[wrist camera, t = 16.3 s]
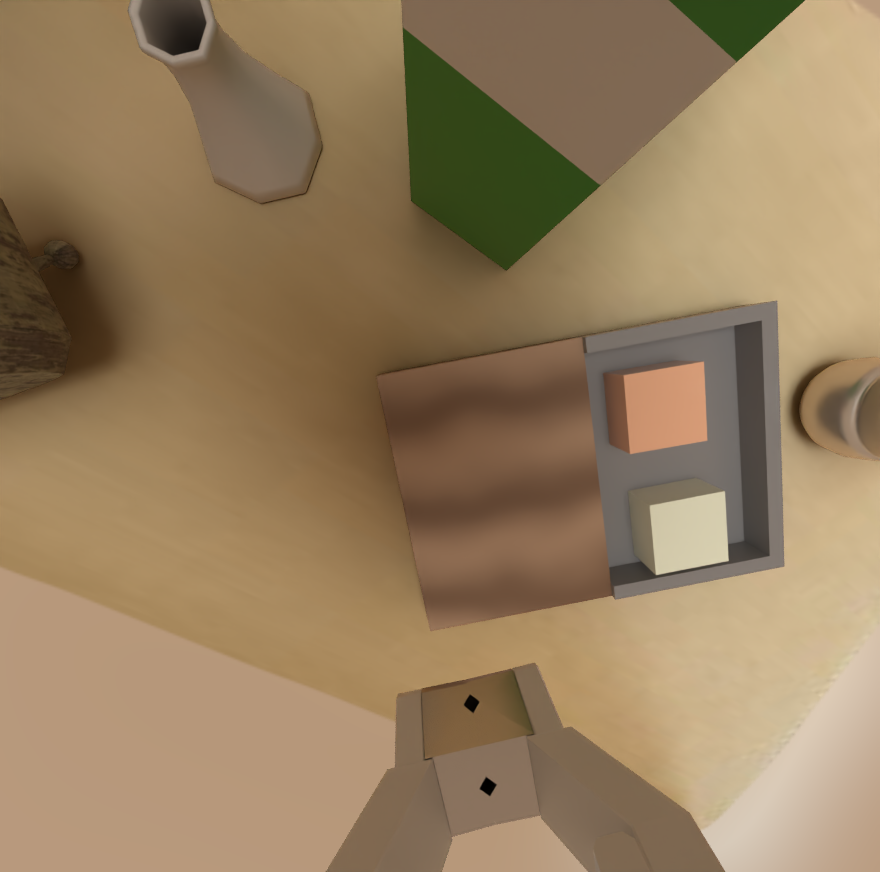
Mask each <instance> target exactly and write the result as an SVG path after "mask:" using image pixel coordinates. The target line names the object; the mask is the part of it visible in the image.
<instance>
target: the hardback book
mask: <svg viewBox="0 0 880 872" xmlns="http://www.w3.org/2000/svg"><path fill="white" fill-rule="evenodd" d="M804 1H805V0H401V2H402V23H403V43H404V64H405V84H406V105H407V125H408V146H409V166H410V187H411V201H412V202H413V203H415V204H416V205H418V206H419V207H420V208H422V209H423V210H424V211H426V212H427V213H428V214H430V215H431V216H433V217H434V218H435V219H437V220H438V221H439V222H441V223H442V224H443V225H445V226H446V227H448V228H449V229H450V230H452V231H453V232H454V233H456V234H457V235H458V236H460V237H461V238H463V239H464V240H465V241H467V242H468V243H469V244H471V245H472V246H473V247H475V248H476V249H477V250H479V251H480V252H482V253H483V254H484V255H486V256H487V257H488V258H490V259H491V260H492V261H494V262H495V263H497V264H498V265H499V266H501V267H502V268H503V269H505V270H506V271H507V270H508V269H509V268H510V267H511V266H512V265H513V264H514V263H515V262H517V261H518V260H519V259H520V258H521V257H522V256H523V255H524V254H525V253H526V252H528V251H529V250H530V249H531V248H532V247H533V246H534V245H535V244H536V243H538V242H539V241H540V240H541V239H542V238H543V237H544V236H545V235H546V234H547V233H549V232H550V231H551V230H552V229H553V228H554V227H555V226H556V225H557V224H558V223H560V222H561V221H562V220H563V219H564V218H565V217H566V216H567V215H568V214H570V213H571V212H572V211H573V210H574V209H575V208H576V207H577V206H578V205H579V204H581V203H582V202H583V201H584V200H585V199H586V198H587V197H588V196H589V195H591V194H592V193H593V192H594V191H595V190H596V189H597V188H598V187H599V186H600V185H602V184H603V183H604V182H605V181H606V180H607V179H608V178H609V177H610V176H612V175H613V174H614V173H615V172H616V171H617V170H618V169H619V168H620V167H621V166H623V165H624V164H625V163H626V162H627V161H628V160H629V159H630V158H631V157H632V156H634V155H635V154H636V153H637V152H638V151H639V150H640V149H641V148H642V147H644V146H645V145H646V144H647V143H648V142H649V141H650V140H651V139H652V138H653V137H655V136H656V135H657V134H658V133H659V132H660V131H661V130H662V129H663V128H665V127H666V126H667V125H668V124H669V123H670V122H671V121H672V120H673V119H674V118H676V117H677V116H678V115H679V114H680V113H681V112H682V111H683V110H684V109H686V108H687V107H688V106H689V105H690V104H691V103H692V102H693V101H694V100H695V99H697V98H698V97H699V96H700V95H701V94H702V93H703V92H704V91H705V90H706V89H708V88H709V87H710V86H711V85H712V84H713V83H714V82H715V81H716V80H718V79H719V78H720V77H721V76H722V75H723V74H724V73H725V72H726V71H727V70H729V69H730V68H731V67H732V66H733V65H734V64H735V63H736V62H737V61H739V60H740V59H741V58H742V57H743V56H744V55H745V54H746V53H747V52H748V51H750V50H751V49H752V48H753V47H754V46H755V45H756V44H757V43H758V42H760V41H761V40H762V39H763V38H764V37H765V36H766V35H767V34H768V33H769V32H771V31H772V30H773V29H774V28H775V27H776V26H777V25H778V24H779V23H781V22H782V21H783V20H784V19H785V18H786V17H787V16H788V15H789V14H790V13H792V12H793V11H794V10H795V9H796V8H797V7H798V6H799V5H800V4H801V3H803V2H804Z"/></svg>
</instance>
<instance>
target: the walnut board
mask: <svg viewBox="0 0 880 872" xmlns="http://www.w3.org/2000/svg"><path fill="white" fill-rule="evenodd" d="M376 378H377V383H378V387H379V392H380V397H381V402H382V406H383V411H384V416H385V420H386V425H387V430H388V434H389V439H390V444H391V449H392V453H393V458H394V463H395V467H396V472H397V477H398V481H399V486H400V491H401V496H402V500H403V505H404V510H405V514H406V519H407V524H408V528H409V533H410V538H411V543H412V547H413V552H414V557H415V561H416V566H417V571H418V576H419V580H420V585H421V590H422V594H423V599H424V604H425V608H426V613H427V618H428V623H429V627H430V631H434V630H439V629H444V628H449V627H454V626H459V625H465V624H470V623H475V622H480V621H485V620H490V619H495V618H500V617H505V616H511V615H516V614H521V613H526V612H531V611H536V610H541V609H546V608H551V607H556V606H562V605H567V604H572V603H577V602H582V601H587V600H592V599H597V598H602V597H608V596H612V590H611V581H610V572H609V564H608V555H607V546H606V538H605V529H604V520H603V512H602V503H601V494H600V486H599V477H598V468H597V460H596V451H595V443H594V434H593V425H592V417H591V408H590V399H589V391H588V382H587V373H586V365H585V356H584V347H583V339H582V337H579V338H568V339H562V340H557V341H552V342H546V343H541V344H536V345H531V346H525V347H520V348H515V349H509V350H504V351H499V352H494V353H488V354H483V355H478V356H472V357H467V358H462V359H456V360H451V361H446V362H441V363H435V364H430V365H425V366H419V367H414V368H409V369H403V370H398V371H393V372H388V373H382V374H379V375H377V376H376Z"/></svg>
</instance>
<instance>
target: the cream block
mask: <svg viewBox="0 0 880 872" xmlns="http://www.w3.org/2000/svg"><path fill="white" fill-rule="evenodd" d="M628 497H629V507H630V517H631V527H632V537H633V547H634V555H635V556H636V557H637V558H639V559H640V560H641V561H642V562H643V563H644V564H645V565H646V566H647V567H648V568H649V569H650V570H651V571H652V572H653V573H654V574H655V575H659V574H664V573H669V572H674V571H679V570H685V569H690V568H695V567H700V566H705V565H710V564H715V563H721V562H726V561H729V558H728V539H727V520H726V502H725V491H724V490H721V489H719V488H717V487H715V486H713V485H711V484H708V483H706V482H704V481H702V480H700V479H697V478H693V479H687V480H682V481H677V482H672V483H667V484H661V485H656V486H651V487H646V488H641V489H635V490H630V491H628Z"/></svg>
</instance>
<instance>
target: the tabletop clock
mask: <svg viewBox="0 0 880 872" xmlns="http://www.w3.org/2000/svg"><path fill="white" fill-rule="evenodd" d="M78 262H79V257H78V252H77V251H76V250H75V248H74V247H73V246H72V245H70V244H68V243H66V242H64V241H50V242H49V243H48V244H47V245H46V246H45V247H44V255H43V256H39V257H35V258H31V256H30V254H29V252H28V250H27V248H26V246H25V244H24V242H23V240H22V238H21V236H20V234H19V232H18V230H17V228H16V226H15V224H14V222H13V220H12V218H11V216H10V214H9V212H8V210H7V208H6V206H5V204H4V202H3V200H2V199H1V198H0V399H3V398H6V397H9V396H11V395H14V394H17V393H20V392H23V391H25V390H28V389H31V388H34V387H36V386H39V385H42V384H44V383H47V382H49V381H52V380H54V379H56V378H58V377H60V376H62V375H64V372H65V367H66V362H67V357H68V352H69V347H70V342H71V335H70V333H69V331H68V329H67V327H66V325H65V323H64V321H63V319H62V317H61V315H60V313H59V311H58V309H57V307H56V305H55V303H54V301H53V299H52V297H51V295H50V293H49V291H48V290H47V288H46V286H45V284H44V282H43V280H42V278H41V276H40V274H39V271H41V270H43V269H45V268H46V267H48V266H50V265H54V266H56V267H58V268H60V269H70V268H73V267H74V266H75V265H76V264H77V263H78Z"/></svg>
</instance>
